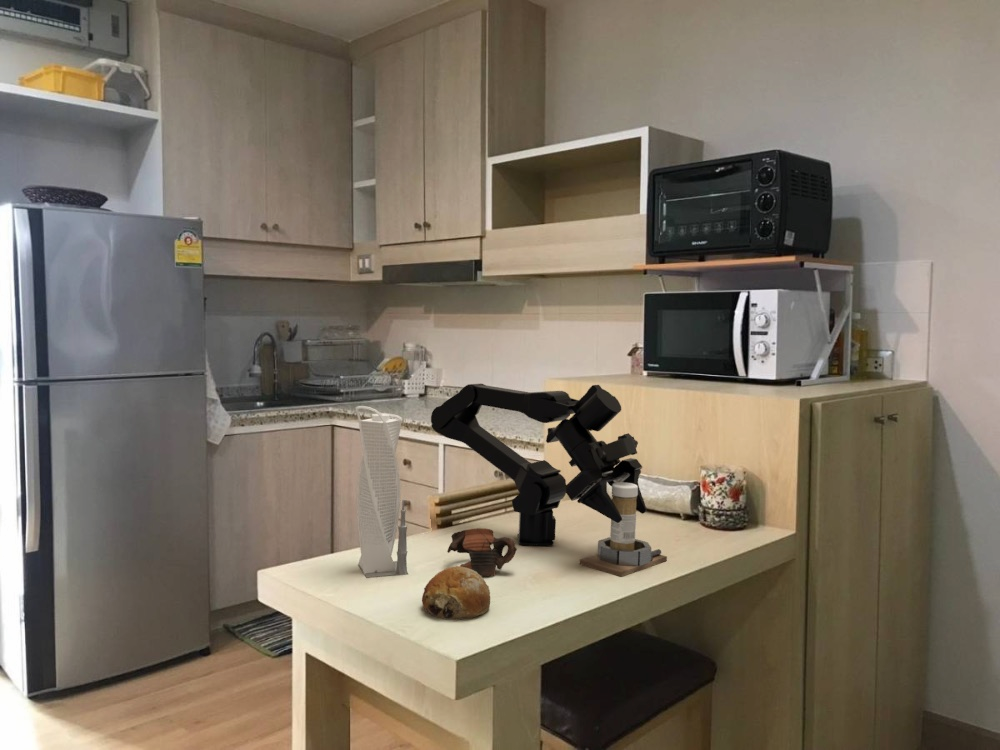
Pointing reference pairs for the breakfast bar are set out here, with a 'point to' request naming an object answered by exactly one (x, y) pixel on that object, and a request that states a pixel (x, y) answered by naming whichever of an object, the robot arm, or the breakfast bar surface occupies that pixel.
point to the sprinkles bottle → (624, 516)
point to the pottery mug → (482, 550)
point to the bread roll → (456, 594)
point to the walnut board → (616, 569)
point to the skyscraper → (380, 497)
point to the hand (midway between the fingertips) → (632, 516)
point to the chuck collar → (626, 553)
